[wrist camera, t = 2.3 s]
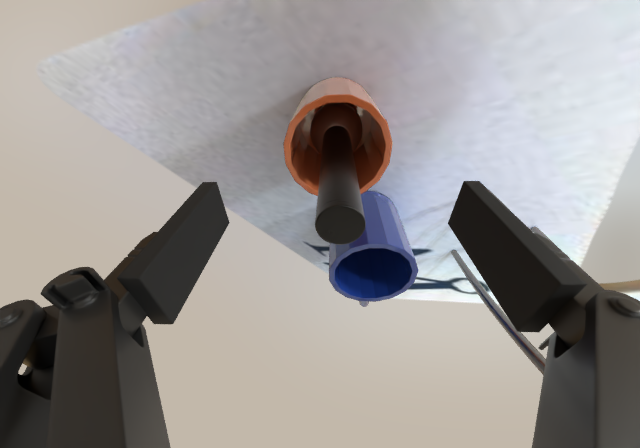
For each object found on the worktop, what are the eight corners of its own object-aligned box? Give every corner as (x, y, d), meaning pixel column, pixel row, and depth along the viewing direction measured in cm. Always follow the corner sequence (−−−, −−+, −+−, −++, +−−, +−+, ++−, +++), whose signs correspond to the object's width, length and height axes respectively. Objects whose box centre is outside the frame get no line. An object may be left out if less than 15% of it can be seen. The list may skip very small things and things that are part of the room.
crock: (294, 78, 23) (277, 95, 16) (379, 76, 23) (400, 93, 16) (300, 158, 28) (289, 199, 21) (370, 158, 28) (383, 199, 21)
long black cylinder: (310, 97, 24) (281, 179, 10) (362, 96, 23) (403, 179, 10) (312, 147, 27) (292, 262, 13) (358, 147, 26) (385, 263, 13)
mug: (329, 190, 31) (329, 243, 23) (402, 190, 30) (427, 244, 22) (329, 260, 39) (329, 317, 31) (387, 261, 38) (402, 319, 30)
